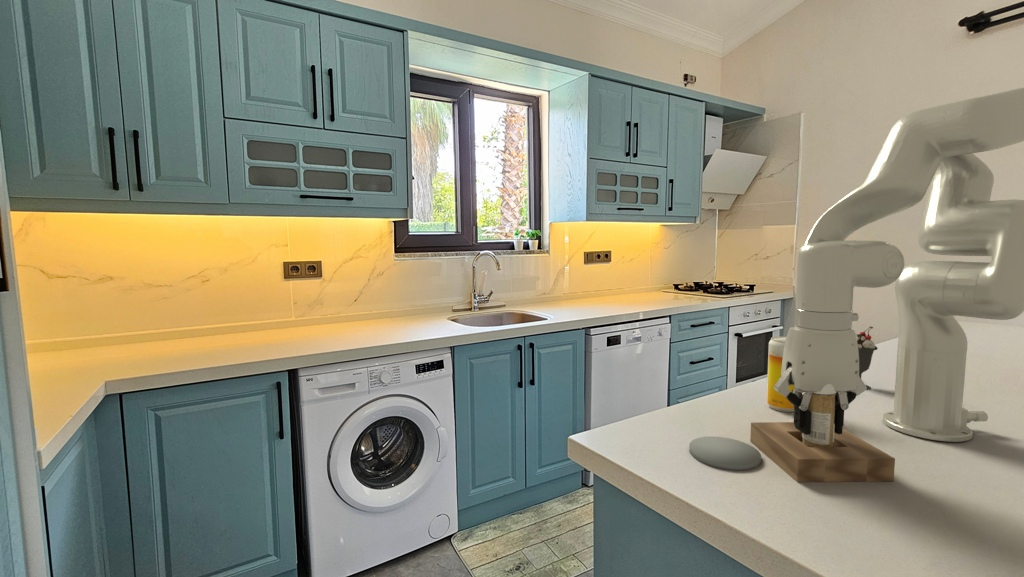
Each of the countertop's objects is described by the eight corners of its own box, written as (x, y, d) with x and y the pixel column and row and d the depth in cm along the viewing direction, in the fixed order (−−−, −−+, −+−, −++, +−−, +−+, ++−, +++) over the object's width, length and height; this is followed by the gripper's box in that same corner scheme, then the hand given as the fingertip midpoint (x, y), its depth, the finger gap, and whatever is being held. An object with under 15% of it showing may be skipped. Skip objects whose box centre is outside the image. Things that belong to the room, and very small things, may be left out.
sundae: (882, 390, 110) (886, 328, 109) (853, 390, 110) (857, 328, 109) (861, 382, 117) (865, 323, 115) (834, 382, 117) (838, 323, 115)
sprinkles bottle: (838, 459, 76) (842, 379, 74) (825, 467, 73) (829, 384, 72) (808, 449, 80) (811, 373, 78) (795, 457, 77) (797, 378, 76)
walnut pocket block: (830, 440, 83) (831, 421, 83) (893, 481, 69) (895, 458, 69) (750, 441, 84) (750, 422, 83) (797, 481, 69) (798, 459, 69)
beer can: (798, 414, 96) (802, 343, 94) (765, 409, 99) (768, 340, 98) (799, 405, 101) (802, 337, 100) (767, 401, 104) (769, 335, 103)
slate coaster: (741, 440, 84) (741, 436, 84) (774, 470, 73) (774, 465, 73) (680, 440, 84) (680, 436, 84) (703, 470, 73) (704, 465, 73)
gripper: (859, 315, 78) (853, 421, 80) (757, 318, 78) (754, 423, 80) (895, 323, 70) (888, 440, 72) (782, 326, 71) (778, 441, 72)
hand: (818, 429), depth 76 cm, fingers closed on sprinkles bottle, 4 cm apart
